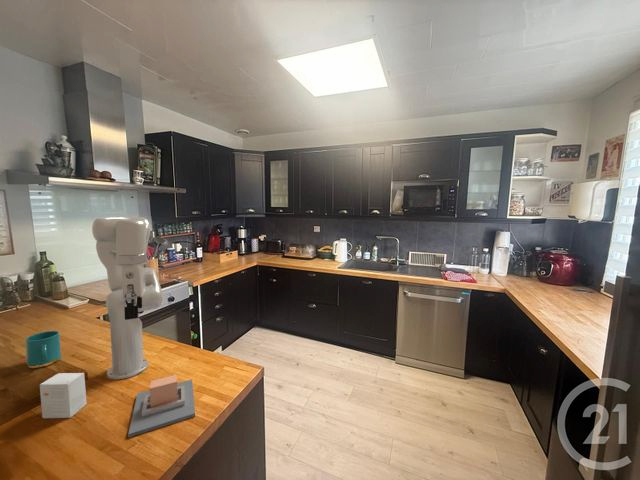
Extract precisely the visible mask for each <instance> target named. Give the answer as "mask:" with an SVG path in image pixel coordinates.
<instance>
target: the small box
mask: <svg viewBox="0 0 640 480" xmlns="http://www.w3.org/2000/svg"><path fill="white" fill-rule="evenodd" d="M39 391H40V393H39V395H40V405H41V407H40V408H41V418H42V419H68V418H69V419H70V418H72V417H73V416H74V415H76V414H77V413H78V412H79V411H80V410H82V409H83V408H84V407H85V406H86V405H87V403H88V402H87V392H86V391H87V390H86V379H85V372H59V373H56V374H55V375H53V376H52V377H50V378H48V379H46V380H44V382H43V381H42V383H40V384H39Z"/></svg>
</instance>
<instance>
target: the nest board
mask: <svg viewBox="0 0 640 480" xmlns="http://www.w3.org/2000/svg"><path fill="white" fill-rule="evenodd" d="M194 397H195V395H194V386H193V378H192V379H188V380H183V381H181V382H177V401H174V402H171V403H167V404H164V405H160V406H157V407H153V408H151V405H150V389H149V390H145V391H141V392H137V394H136V397H135V403H134V407H133V412H132V416H131V420H130V426H129V430H128V434H127V436H128V438H129V439H130V438H132V437H134V436H138V435H141V434H145V433H147V432H150V431H154V430H157V429H160V428H162V427H163V428H164V427H165V426H169V425H172V424H176V423H179V422H182V421H185V420H187V419H190V418H194V417H196V408H195V399H194Z"/></svg>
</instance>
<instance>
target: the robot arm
mask: <svg viewBox="0 0 640 480" xmlns="http://www.w3.org/2000/svg"><path fill="white" fill-rule="evenodd" d="M91 229H92V230H91V231H92V235H93V238H94V240H95V241H96V242H95V249H96V254H97V256H98V259H99V261H100V262H101V264H102V265H103V266H104V267H105V269H106V273H107V281H108V287H109V289H110V291H111V292H110V293H108V295H107V297H106V299H105V304H106V310H107V314H108V317H109V327H110V328H109V329H110V347H111V348H110V349H111V350H110V351H111V367H110V368H108V369H107V371H106V377H107V379H111V380H116V381H117V380H124V379H127V378H132V377H134V376H137V375H138V374H141V373H142V372H144V371H145V370H147V368H148V366H149V360H148V359H146V358H144V348H143V347H144V346H143V345H144V344H143V343H144V342H143V322H142V320H141V319H140V318H139V313H140V312H146V311H150V310H156V309H158V308H160V307H161V306H162V304H163V302H164V294H163V290H162V287H161V284H160V281H159V280H160V279H159V278H158V275H157V271H156V270H155V269H154V268H152V267H145V265H147V263H148V259H147V258H148V256H147V253H148V251H147V249H148V245H149V239H150V234H151V224H150V222H149V221H148V219H147V218H145V217H142V216H139V217H138V216H113V217H112V216H111V217H100V218H95V219H94V221H93V222H92V227H91Z"/></svg>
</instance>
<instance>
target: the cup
mask: <svg viewBox="0 0 640 480" xmlns="http://www.w3.org/2000/svg"><path fill="white" fill-rule="evenodd" d="M60 334H61V333H60V331H58V330H47V331H41V332H38V333H34V334H33V335H30V336H28V337H27V338H25V351H26V365H28V366H36V365H43V364H46V363H49V362H51V361H53V360H54V359H58V360H59V361H60V360H61V358H62V352H61V336H60ZM28 366H27V367H28Z"/></svg>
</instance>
